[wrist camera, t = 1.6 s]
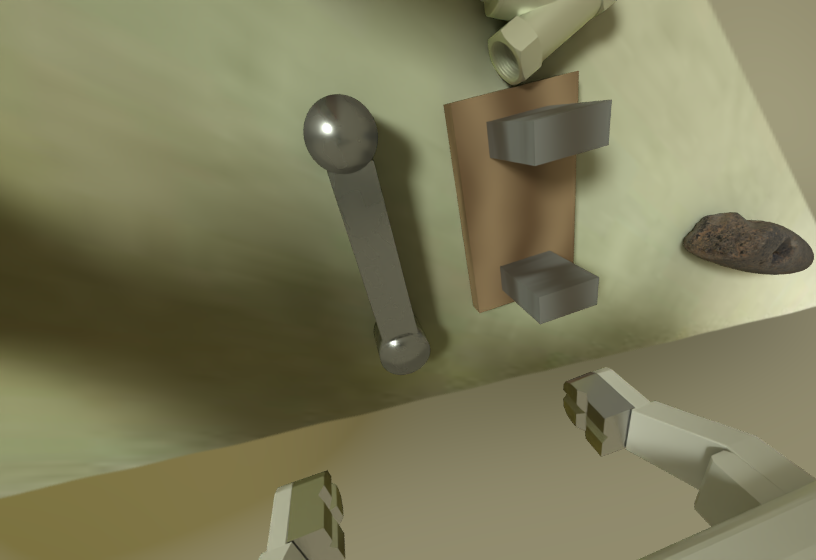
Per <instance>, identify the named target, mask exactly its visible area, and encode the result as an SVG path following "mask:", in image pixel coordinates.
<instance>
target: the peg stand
mask: <svg viewBox="0 0 816 560" xmlns="http://www.w3.org/2000/svg"><path fill="white" fill-rule="evenodd" d="M578 79H579V71H576V72H571V73H566V74H562V75H558V76H554V77H551V78H547V79H543V80H539V81H535V82H531V83H527V84H523V85H519V86H515V87H511V88H508V89H504V90H500V91H496V92H492V93H488V94H484V95H480V96H476V97H472V98H468V99H464V100H461V101H457V102H453V103H449V104H445V105H444V111H445V118H446V125H447V132H448V138H449V145H450V152H451V159H452V165H453V172H454V179H455V186H456V192H457V199H458V206H459V213H460V219H461V226H462V233H463V240H464V246H465V253H466V260H467V267H468V273H469V280H470V287H471V294H472V301H473V306H474V307H475V308H476V309H477V310H478V312H479V313H481V312H484V311H487V310H490V309H493V308H496V307H499V306H502V305H505V304H508V303H511V302H514V301H515V302H516V303H517V304H518V305H519V306H521V307H522V308H523V309H524V310H525V311H526V312H527V313H528V314H529V315H530V316H532V317H533V318H534V319H535V320H536V321H537V322H538V323H539V324H542V323H545V322H548V321H551V320H554V319H557V318H560V317H562V316H565V315H568V314H571V313H574V312H577V311H580V310H583V309H585V308H588V307H591V306H594V305H597V298H598V284H599V277H597V276H596V275H594V274H592V273H590V272H588V271H586V270H585V269H583V268H581V267H579V266H577V265H575V264H574V263H573V257H574V221H575V186H576V154H579V153H582V152H586V151H589V150H593V149H596V148H600V147H603V146H607V145H609V132H610V118H611V104H612V100H603V101H593V102H582V103H578Z"/></svg>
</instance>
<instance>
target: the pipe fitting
mask: <svg viewBox="0 0 816 560" xmlns="http://www.w3.org/2000/svg"><path fill="white" fill-rule="evenodd" d="M480 1H483V2H485V3H484V11H485V14H486V16H487V17H491V18H496V19H500V20H505V21H509V22H508V23H507V24H505V25H504V26H503V27H502V28H501V29H500V30H498V31H497V32H496V33H495V34H494V35H493V36H492V37H491V38H490V39H489V40H488V50H489V55H490V59H491V62H492V64H493V66H494V68H495V70H496V71H497V73H498V74H499V75H500V76H501V78H503V79H504V80H505V81H506V82H507V83H509V84H511V85H516V84H519V83H521V82H523V81H525V80H526V79H527V78H529V77H530V76H531V75H532V74H533V73H534V72H535V71H537V70H538V69H539V68H540V67H541V65H542V61H544V60H545V59H546V58H547V57H548V56H549V55H550V54H552V53H553V52H554V51H555V50H556V49H557V48H558V47H560V46H561V45H562V44H563V43H564V42H565V41H566V40H568V39H569V38H570V37H571V36H572V35H573V34H574V33H576V32H577V31H578V30H579V29H580V28H581V27H582V26H584V25H585V24H586V23H587V22H588V21H589V20H590V19H592V18H594V17H595V16H597V15H599V14H601V13H602V12H604V11H605V10H606V9H607V8H609V7H610V6H611V5H612V4H613V3H614V2H615V1H617V0H480Z"/></svg>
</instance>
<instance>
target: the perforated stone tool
mask: <svg viewBox="0 0 816 560" xmlns="http://www.w3.org/2000/svg"><path fill="white" fill-rule="evenodd" d="M683 244H684V247H685V248H686V249H687V250H688V251H689V252H691V253H692V254H694V255H696V256H698V257H700V258H702V259H704V260H707V261H710V262H713V263H716V264H719V265H722V266H725V267H729V268H732V269H736V270H741V271H745V272H751V273H758V274H770V275H779V274H791V273H795V272H800V271H803V270H805V269H807V268H808V267H809V266H810V265H811V264H812V262H813V260H814V254H813V252H812V249H811V247H810V246H809V245H808V243H807V242H806V241H805V240H803V239H802V238H801V237H800V236H799V235H797V234H796V233H794V232H793V231H791V230H789V229H787V228H785V227H783V226H781V225H778V224H775V223H771V222H765V221H756V220H746V219H744V218H743V217H742V216H741V215H740V214H738V213H733V212H729V213H719V214H715V215H708V216H705V217H703V218H702V220H701V221H700V222H699V223H696V226H695V227H694V229H693V231H691V232H689V234H688V235H687V236H686V237H685V238H684V243H683Z"/></svg>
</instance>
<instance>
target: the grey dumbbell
mask: <svg viewBox="0 0 816 560" xmlns="http://www.w3.org/2000/svg"><path fill="white" fill-rule="evenodd" d="M303 130H304V140H305V144H306V147H307V149H308V151H309V153H310V155H311V156H312V158H313V159H314V160H315V161H316V162H317V163H318V164H319V165H320V166H321V167H323V168H324V169H326V170H327V173H328V176H329V179H330V182H331V185H332V188H333V191H334V194H335V197H336V200H337V203H338V207H339V210H340V213H341V216H342V219H343V222H344V225H345V228H346V231H347V234H348V237H349V240H350V243H351V246H352V249H353V252H354V255H355V258H356V261H357V264H358V267H359V270H360V273H361V276H362V279H363V282H364V285H365V288H366V291H367V295H368V298H369V301H370V304H371V307H372V310H373V313H374V316H375V319H376V324H375V326H374V336H375V340H376V344H377V348H378V352H379V356H380V360H381V363H382V365H383V367H384V368H385V369H386V370H387V371H389V372H390V373H393V374H397V375H405V374H409V373H412V372H415V371H417V370H418V369H420V368H421V367H422V366H423V365H424V364H425V363H426V362H427V360H428V358H429V355H430V345H429V343H428V341H427V339H426V337H425V335H424V333H423V331H422V329H421V327H420V324H419V322H418V320H417V318H416V317H415V315H414V314H413V311H412V307H411V304H410V300H409V296H408V292H407V288H406V284H405V280H404V276H403V273H402V269H401V265H400V261H399V257H398V253H397V249H396V246H395V242H394V238H393V234H392V230H391V226H390V222H389V218H388V215H387V211H386V207H385V203H384V199H383V195H382V191H381V188H380V184H379V180H378V176H377V172H376V168H375V164H374V161H373V160H372V158H373V156H374V154H375V152H376V148H377V143H378V132H377V127H376V123H375V121H374V119H373V117H372V115H371V113H370V112H369V110H368V109H367V108H366V107H365V106H364V105H363V104H362V103H361V102H359V101H358V100H356V99H354V98H352V97H350V96H346V95H341V94H334V95H329V96H326V97H323V98H322V99H320V100H318V101H317V102H316V103H315V104H314V105H313V106H312V107H311V108H310V110H309V112H308V113H307V116H306V118H305V122H304V129H303Z"/></svg>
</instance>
